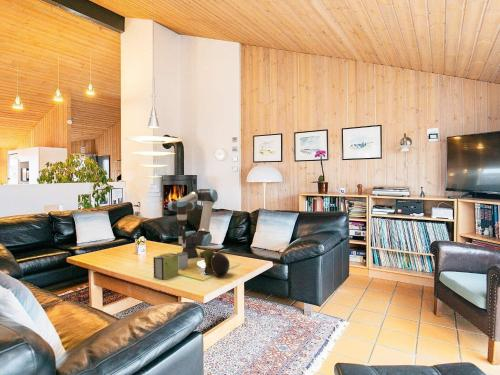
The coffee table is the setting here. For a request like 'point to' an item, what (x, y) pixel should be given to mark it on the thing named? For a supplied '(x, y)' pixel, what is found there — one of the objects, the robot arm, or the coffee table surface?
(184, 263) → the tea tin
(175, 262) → the protein box
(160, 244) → the coffee table surface
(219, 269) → the frog statue
